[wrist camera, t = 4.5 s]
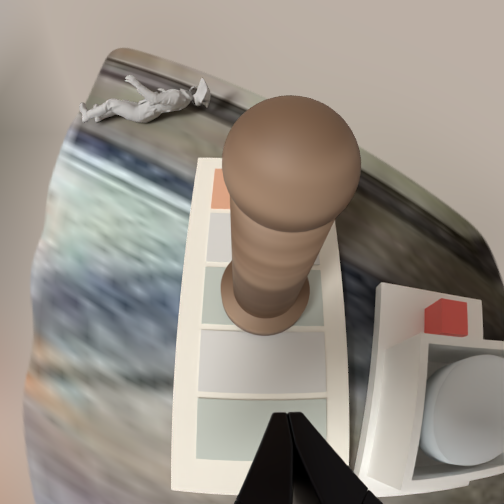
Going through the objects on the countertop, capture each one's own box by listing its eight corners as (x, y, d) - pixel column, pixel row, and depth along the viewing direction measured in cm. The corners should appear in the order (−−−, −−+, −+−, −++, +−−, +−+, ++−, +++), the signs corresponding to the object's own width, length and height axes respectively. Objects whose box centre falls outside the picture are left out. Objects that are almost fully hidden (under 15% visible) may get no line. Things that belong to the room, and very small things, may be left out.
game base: (460, 483, 14) (510, 491, 9) (348, 494, 15) (384, 518, 10) (474, 304, 21) (518, 276, 16) (376, 287, 21) (411, 251, 16)
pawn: (307, 335, 18) (422, 199, 6) (219, 334, 18) (184, 185, 6) (303, 257, 20) (371, 73, 8) (223, 254, 20) (210, 59, 8)
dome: (474, 456, 13) (541, 457, 8) (396, 464, 13) (460, 479, 8) (483, 366, 16) (548, 343, 10) (410, 362, 16) (474, 338, 11)
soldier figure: (109, 106, 31) (210, 64, 28) (120, 146, 32) (222, 107, 30) (67, 102, 23) (185, 44, 21) (78, 150, 25) (201, 97, 22)
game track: (342, 484, 15) (348, 488, 14) (174, 486, 15) (170, 490, 14) (323, 171, 25) (326, 162, 24) (199, 166, 25) (198, 156, 24)
